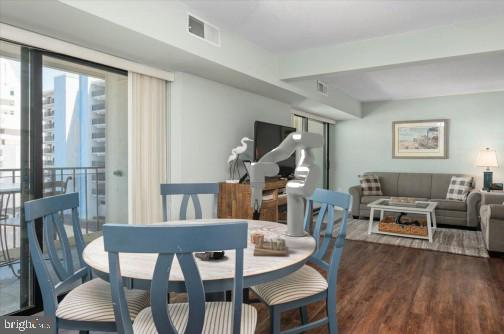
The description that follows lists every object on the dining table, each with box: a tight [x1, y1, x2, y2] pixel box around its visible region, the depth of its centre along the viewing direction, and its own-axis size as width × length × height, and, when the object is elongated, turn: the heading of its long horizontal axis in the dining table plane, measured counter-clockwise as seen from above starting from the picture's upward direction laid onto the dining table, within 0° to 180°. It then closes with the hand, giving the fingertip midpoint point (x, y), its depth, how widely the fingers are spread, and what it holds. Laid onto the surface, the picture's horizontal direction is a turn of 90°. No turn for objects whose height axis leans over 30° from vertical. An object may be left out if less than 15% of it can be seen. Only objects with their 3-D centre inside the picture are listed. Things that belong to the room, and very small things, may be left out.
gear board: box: [253, 237, 288, 258], centre depth 164 cm, size 18×15×6 cm
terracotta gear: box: [250, 232, 265, 244], centre depth 180 cm, size 7×7×4 cm
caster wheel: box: [194, 250, 226, 262], centre depth 152 cm, size 7×11×10 cm
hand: (256, 218), depth 179 cm, fingers open, 9 cm apart
